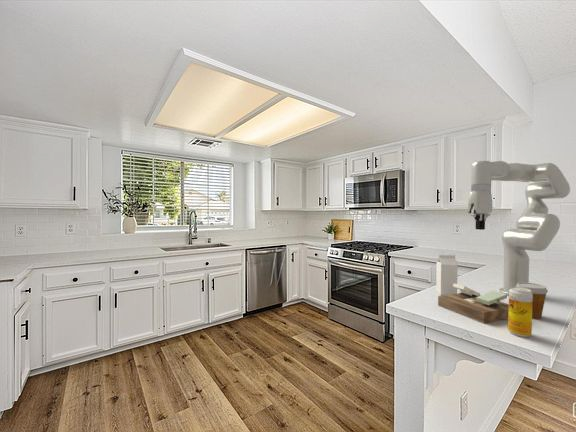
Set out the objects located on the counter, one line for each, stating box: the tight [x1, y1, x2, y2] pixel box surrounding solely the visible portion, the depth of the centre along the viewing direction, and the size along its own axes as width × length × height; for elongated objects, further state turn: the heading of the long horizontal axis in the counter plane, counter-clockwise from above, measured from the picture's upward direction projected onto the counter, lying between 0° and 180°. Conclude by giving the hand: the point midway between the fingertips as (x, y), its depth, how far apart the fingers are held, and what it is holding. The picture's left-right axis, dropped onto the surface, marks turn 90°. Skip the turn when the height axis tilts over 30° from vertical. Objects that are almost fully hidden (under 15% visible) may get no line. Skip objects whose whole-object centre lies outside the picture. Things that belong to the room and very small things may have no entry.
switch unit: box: [437, 292, 509, 324], centre depth 116 cm, size 18×20×5 cm
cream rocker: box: [453, 283, 481, 297], centre depth 122 cm, size 10×5×2 cm, turn 110°
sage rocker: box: [476, 290, 508, 305], centre depth 112 cm, size 10×5×2 cm, turn 109°
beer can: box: [507, 287, 533, 338], centre depth 95 cm, size 6×6×15 cm
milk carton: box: [435, 254, 459, 296], centre depth 138 cm, size 7×7×19 cm
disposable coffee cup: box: [516, 282, 549, 320], centre depth 110 cm, size 10×10×12 cm
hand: (480, 229), depth 129 cm, fingers closed
